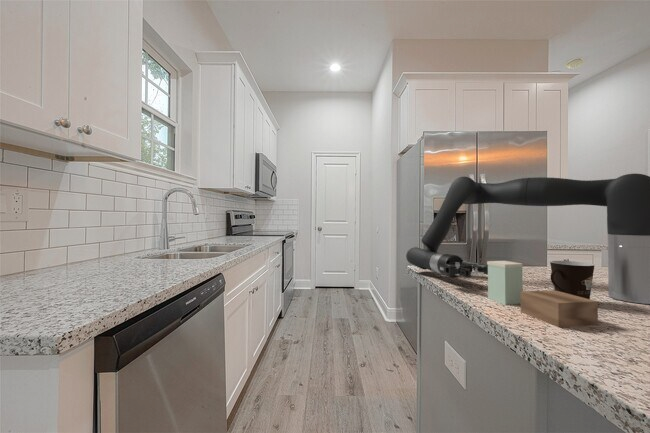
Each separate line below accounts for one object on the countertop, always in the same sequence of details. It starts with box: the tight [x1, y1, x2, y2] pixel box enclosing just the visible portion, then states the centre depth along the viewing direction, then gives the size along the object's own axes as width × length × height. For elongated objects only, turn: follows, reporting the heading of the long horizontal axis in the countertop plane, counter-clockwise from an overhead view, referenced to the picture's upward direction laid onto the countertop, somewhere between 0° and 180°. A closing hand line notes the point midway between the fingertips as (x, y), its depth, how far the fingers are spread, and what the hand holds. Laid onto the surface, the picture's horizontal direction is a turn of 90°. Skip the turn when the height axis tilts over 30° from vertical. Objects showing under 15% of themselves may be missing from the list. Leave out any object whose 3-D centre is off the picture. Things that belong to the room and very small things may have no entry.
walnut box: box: [520, 289, 599, 328], centre depth 59 cm, size 9×9×5 cm
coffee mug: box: [549, 260, 595, 300], centre depth 72 cm, size 12×9×10 cm
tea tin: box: [486, 260, 524, 306], centre depth 72 cm, size 6×6×10 cm
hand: (482, 272), depth 80 cm, fingers open, 8 cm apart
